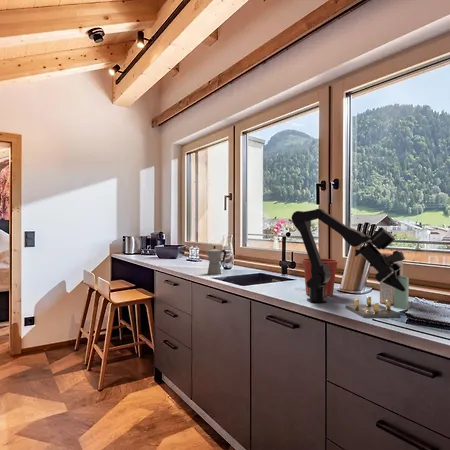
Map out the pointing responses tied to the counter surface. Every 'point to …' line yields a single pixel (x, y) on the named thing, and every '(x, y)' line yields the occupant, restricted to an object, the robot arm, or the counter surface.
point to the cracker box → (386, 289)
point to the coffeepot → (215, 260)
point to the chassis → (372, 309)
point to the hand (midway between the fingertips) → (405, 289)
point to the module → (402, 293)
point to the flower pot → (332, 267)
